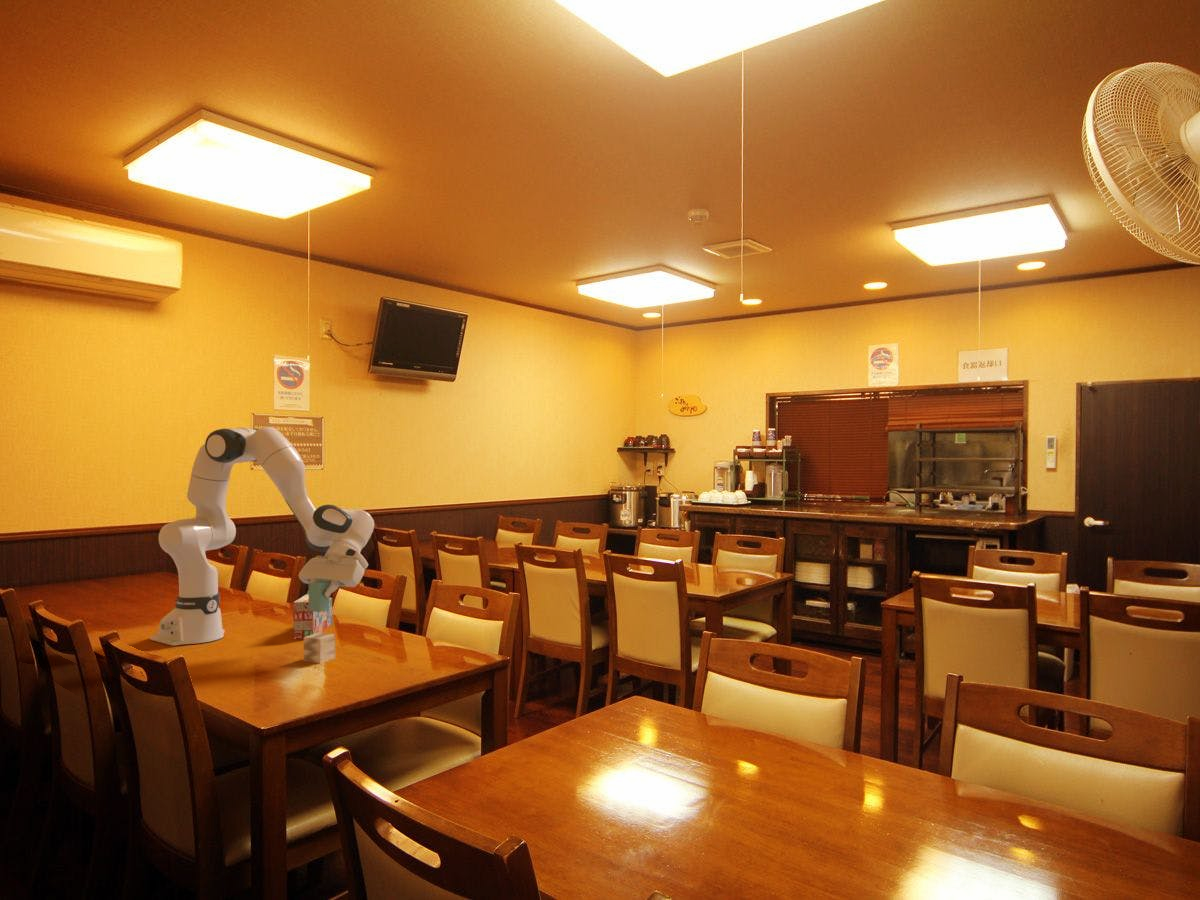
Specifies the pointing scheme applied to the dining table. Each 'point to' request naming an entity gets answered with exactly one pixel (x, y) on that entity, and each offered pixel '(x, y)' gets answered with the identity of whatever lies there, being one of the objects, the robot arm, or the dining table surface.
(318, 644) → the tower top
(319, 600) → the pillar
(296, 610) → the multicoloured boxy piece
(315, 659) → the tower base
